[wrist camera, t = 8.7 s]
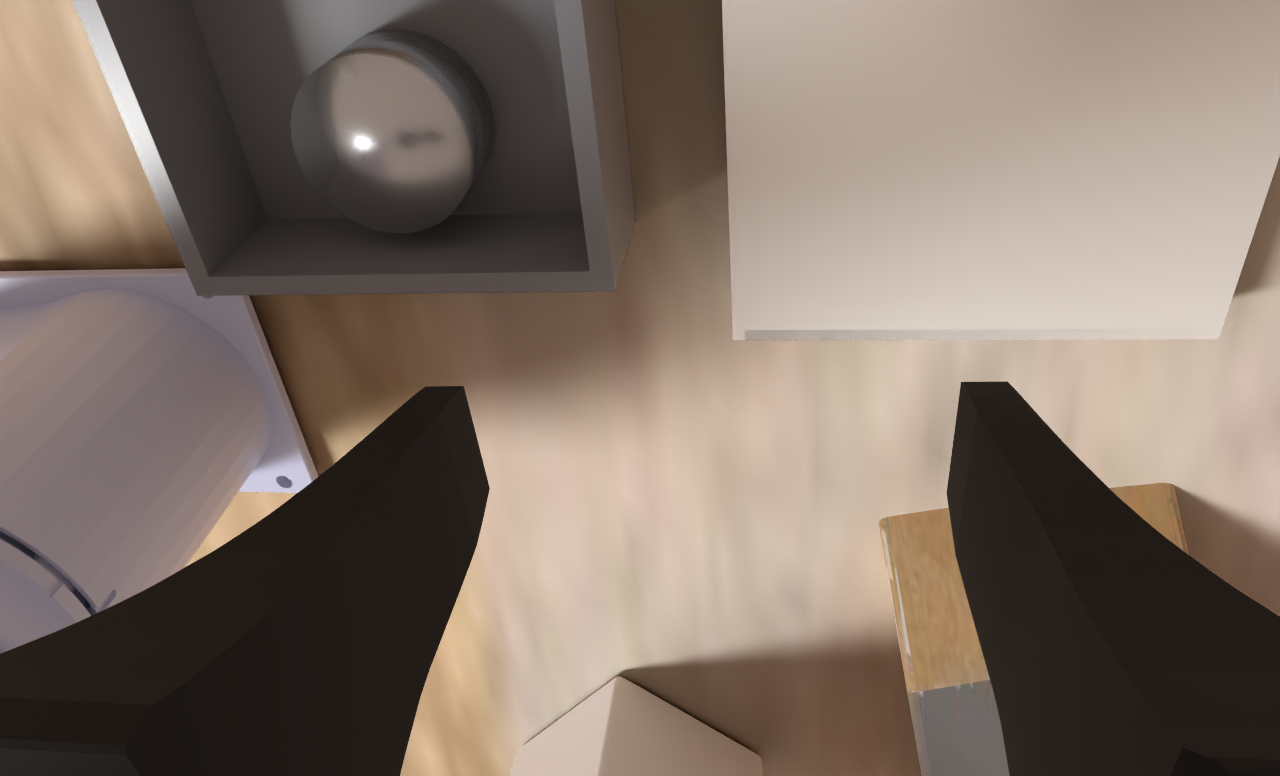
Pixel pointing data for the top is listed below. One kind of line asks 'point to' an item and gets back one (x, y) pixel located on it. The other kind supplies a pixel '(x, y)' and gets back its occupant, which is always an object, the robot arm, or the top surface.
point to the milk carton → (631, 741)
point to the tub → (292, 209)
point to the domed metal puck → (393, 130)
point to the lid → (995, 165)
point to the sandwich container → (963, 635)
